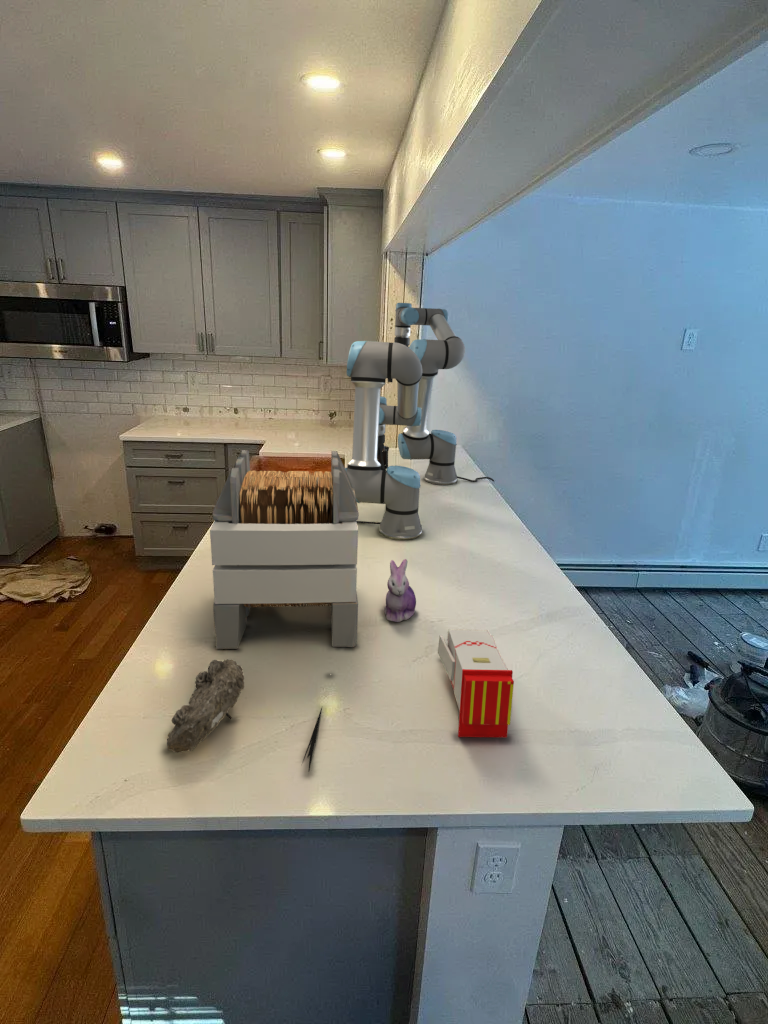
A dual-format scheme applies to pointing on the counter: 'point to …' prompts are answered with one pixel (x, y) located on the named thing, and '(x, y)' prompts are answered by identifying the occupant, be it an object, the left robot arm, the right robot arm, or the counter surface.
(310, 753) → the feather
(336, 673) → the counter surface
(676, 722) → the counter surface
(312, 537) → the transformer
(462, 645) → the toy
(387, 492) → the left robot arm
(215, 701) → the fossil
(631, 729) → the counter surface
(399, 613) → the figurine
